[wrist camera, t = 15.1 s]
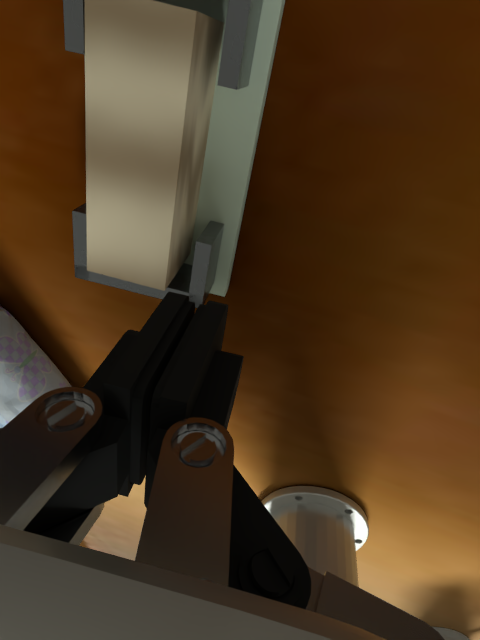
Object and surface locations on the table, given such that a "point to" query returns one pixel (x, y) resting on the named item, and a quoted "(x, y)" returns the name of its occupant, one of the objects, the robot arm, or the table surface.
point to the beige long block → (145, 134)
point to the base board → (232, 136)
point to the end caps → (202, 272)
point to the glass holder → (450, 634)
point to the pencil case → (22, 369)
